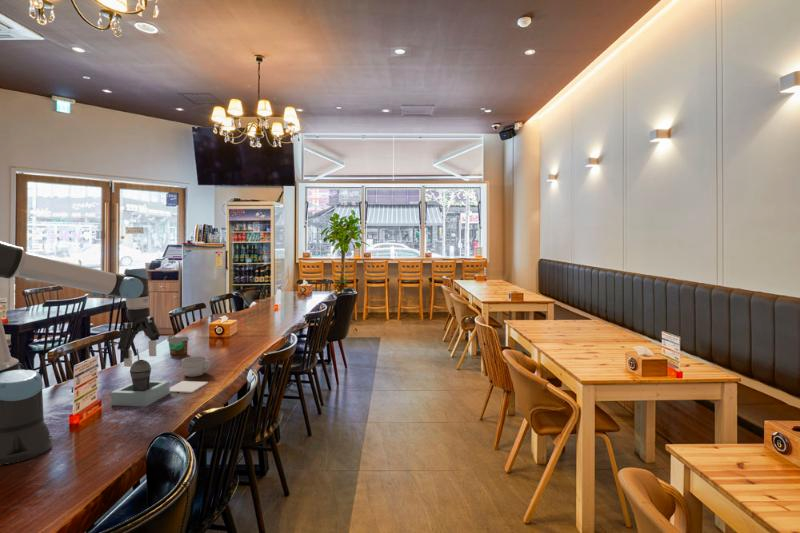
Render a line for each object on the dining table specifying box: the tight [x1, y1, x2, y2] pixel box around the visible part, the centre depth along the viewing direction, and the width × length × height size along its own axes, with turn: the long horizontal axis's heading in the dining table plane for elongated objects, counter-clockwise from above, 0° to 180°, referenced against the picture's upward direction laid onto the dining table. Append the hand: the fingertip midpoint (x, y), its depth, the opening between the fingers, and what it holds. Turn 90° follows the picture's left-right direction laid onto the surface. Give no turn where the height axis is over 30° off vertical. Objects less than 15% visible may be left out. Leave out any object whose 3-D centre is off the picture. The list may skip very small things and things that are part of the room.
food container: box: [166, 334, 190, 357], centre depth 230 cm, size 12×6×10 cm, turn 73°
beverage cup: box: [129, 348, 152, 391], centre depth 166 cm, size 7×7×20 cm
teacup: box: [181, 355, 212, 377], centre depth 195 cm, size 14×11×8 cm
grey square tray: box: [110, 380, 171, 408], centre depth 166 cm, size 14×14×5 cm
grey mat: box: [170, 380, 209, 394], centre depth 179 cm, size 12×12×1 cm
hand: (141, 361), depth 166 cm, fingers open, 13 cm apart
